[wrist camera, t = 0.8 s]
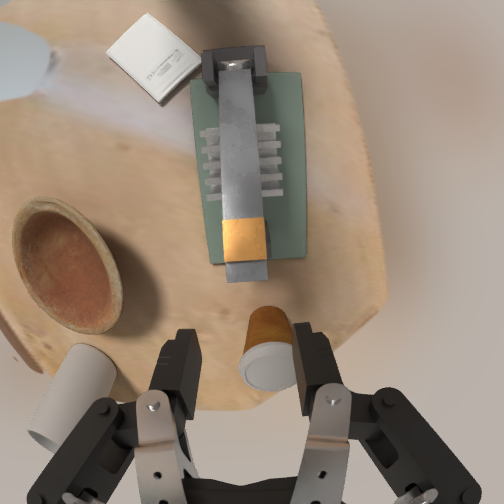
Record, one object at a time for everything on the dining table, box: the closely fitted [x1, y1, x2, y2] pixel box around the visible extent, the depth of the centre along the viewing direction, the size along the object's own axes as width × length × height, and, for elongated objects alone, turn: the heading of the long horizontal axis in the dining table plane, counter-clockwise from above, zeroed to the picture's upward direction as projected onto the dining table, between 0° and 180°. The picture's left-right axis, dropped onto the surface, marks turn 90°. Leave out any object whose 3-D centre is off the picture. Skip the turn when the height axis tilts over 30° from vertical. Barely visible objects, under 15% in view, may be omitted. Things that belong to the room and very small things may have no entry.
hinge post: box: [201, 45, 268, 98], centre depth 25 cm, size 5×6×11 cm
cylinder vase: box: [27, 344, 117, 454], centre depth 40 cm, size 12×12×25 cm
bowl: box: [12, 197, 124, 335], centre depth 36 cm, size 24×24×8 cm
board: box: [190, 72, 306, 264], centre depth 35 cm, size 26×14×1 cm, turn 4°
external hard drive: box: [106, 13, 201, 103], centre depth 28 cm, size 2×8×12 cm
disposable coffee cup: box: [239, 306, 297, 392], centre depth 41 cm, size 10×10×12 cm
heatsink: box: [200, 123, 283, 201], centre depth 31 cm, size 8×8×8 cm
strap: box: [215, 59, 268, 283], centre depth 21 cm, size 21×4×2 cm
